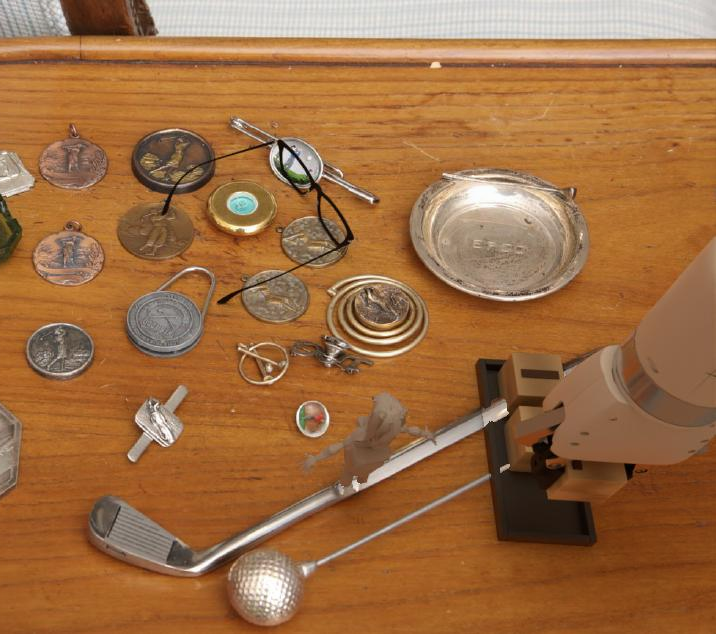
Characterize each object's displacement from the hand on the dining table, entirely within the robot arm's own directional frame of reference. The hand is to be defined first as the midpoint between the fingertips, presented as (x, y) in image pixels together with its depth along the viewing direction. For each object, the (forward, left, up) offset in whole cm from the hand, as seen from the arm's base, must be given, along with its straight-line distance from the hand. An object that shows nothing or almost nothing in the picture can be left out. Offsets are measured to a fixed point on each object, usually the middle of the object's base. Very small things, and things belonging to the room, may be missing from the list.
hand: (572, 473), depth 75 cm
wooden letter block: (0, 0, 0) cm, 0 cm away
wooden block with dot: (0, -6, -8) cm, 10 cm away
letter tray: (0, -6, -9) cm, 10 cm away
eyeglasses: (+26, -30, -9) cm, 40 cm away
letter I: (0, -11, -8) cm, 14 cm away
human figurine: (+17, -1, -9) cm, 19 cm away
